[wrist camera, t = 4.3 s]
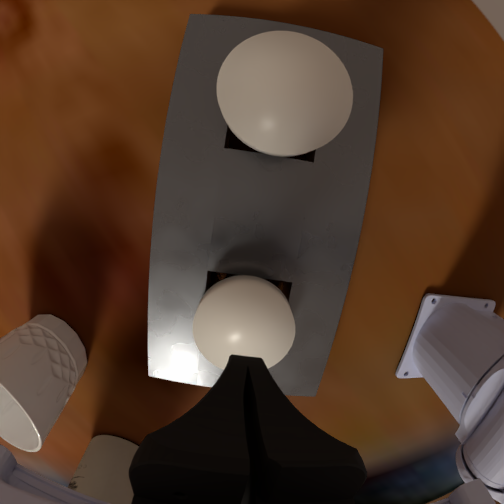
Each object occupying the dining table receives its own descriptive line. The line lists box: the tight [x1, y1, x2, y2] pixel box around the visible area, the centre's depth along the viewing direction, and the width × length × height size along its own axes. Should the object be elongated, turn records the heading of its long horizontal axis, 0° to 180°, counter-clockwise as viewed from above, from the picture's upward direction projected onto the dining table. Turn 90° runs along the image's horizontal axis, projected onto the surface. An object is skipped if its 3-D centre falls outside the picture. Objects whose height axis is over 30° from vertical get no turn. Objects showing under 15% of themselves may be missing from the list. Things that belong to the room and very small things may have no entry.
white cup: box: [0, 314, 87, 452], centre depth 18 cm, size 8×8×10 cm
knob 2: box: [193, 275, 295, 370], centre depth 19 cm, size 6×6×5 cm
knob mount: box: [148, 14, 383, 396], centre depth 18 cm, size 12×24×3 cm, turn 171°
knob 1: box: [217, 31, 353, 157], centre depth 13 cm, size 6×6×5 cm
